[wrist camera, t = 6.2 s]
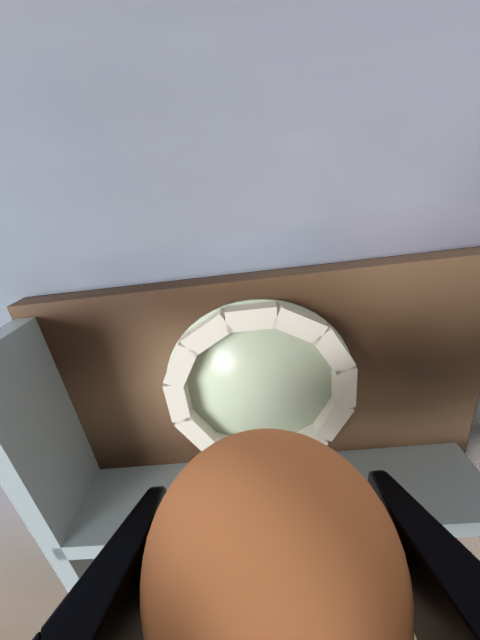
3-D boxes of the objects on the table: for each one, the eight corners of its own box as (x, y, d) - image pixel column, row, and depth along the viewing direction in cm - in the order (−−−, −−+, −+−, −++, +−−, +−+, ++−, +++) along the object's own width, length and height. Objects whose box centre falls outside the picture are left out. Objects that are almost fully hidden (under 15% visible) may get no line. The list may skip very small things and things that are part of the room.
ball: (354, 512, 10) (458, 831, 5) (191, 522, 11) (141, 829, 6) (360, 373, 8) (553, 696, 3) (153, 392, 9) (15, 709, 3)
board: (428, 545, 19) (480, 648, 15) (137, 561, 20) (109, 661, 16) (492, 245, 11) (632, 281, 7) (24, 297, 12) (-85, 355, 8)
